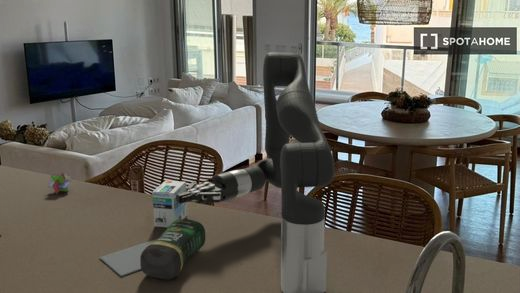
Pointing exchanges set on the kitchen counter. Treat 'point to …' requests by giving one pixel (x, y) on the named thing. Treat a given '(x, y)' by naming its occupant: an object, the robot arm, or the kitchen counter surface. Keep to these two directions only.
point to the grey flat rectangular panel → (126, 259)
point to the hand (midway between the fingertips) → (177, 199)
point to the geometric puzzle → (60, 183)
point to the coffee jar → (172, 249)
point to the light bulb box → (168, 203)
